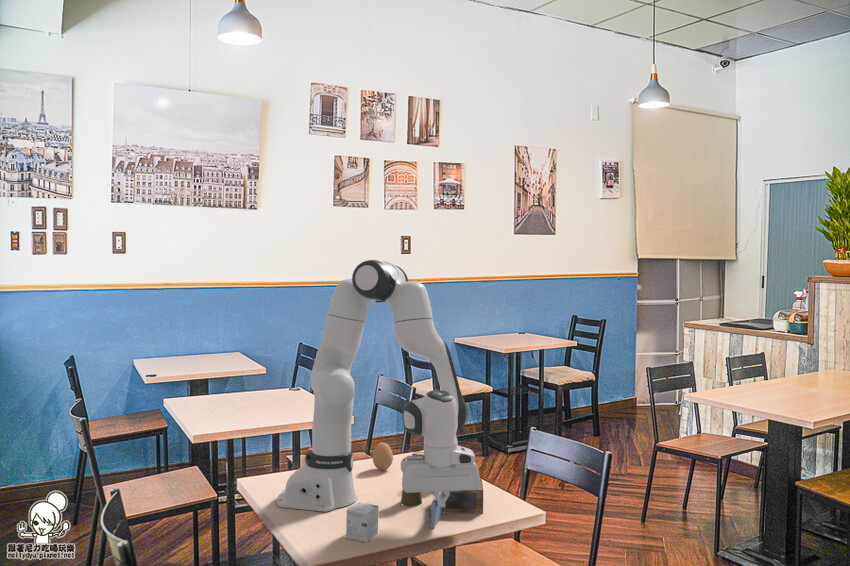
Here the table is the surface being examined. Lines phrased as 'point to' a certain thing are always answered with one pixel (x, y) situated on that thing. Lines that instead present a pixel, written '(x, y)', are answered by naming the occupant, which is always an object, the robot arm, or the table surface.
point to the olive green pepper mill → (411, 499)
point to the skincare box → (362, 521)
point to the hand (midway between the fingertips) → (441, 507)
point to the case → (465, 501)
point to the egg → (382, 456)
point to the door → (435, 511)
